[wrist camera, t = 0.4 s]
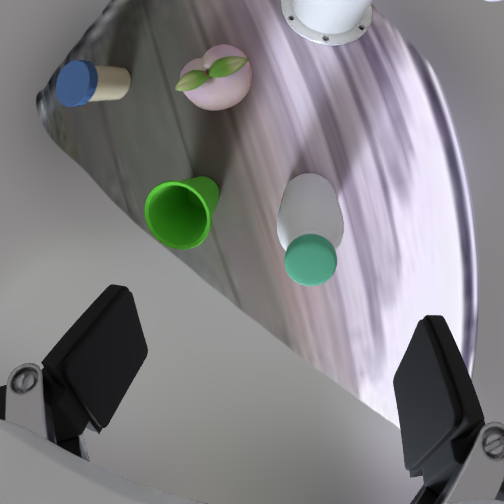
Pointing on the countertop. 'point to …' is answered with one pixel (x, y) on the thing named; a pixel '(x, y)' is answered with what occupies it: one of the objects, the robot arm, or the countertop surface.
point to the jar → (111, 83)
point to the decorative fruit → (217, 78)
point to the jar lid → (76, 83)
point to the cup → (182, 211)
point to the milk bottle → (310, 228)
